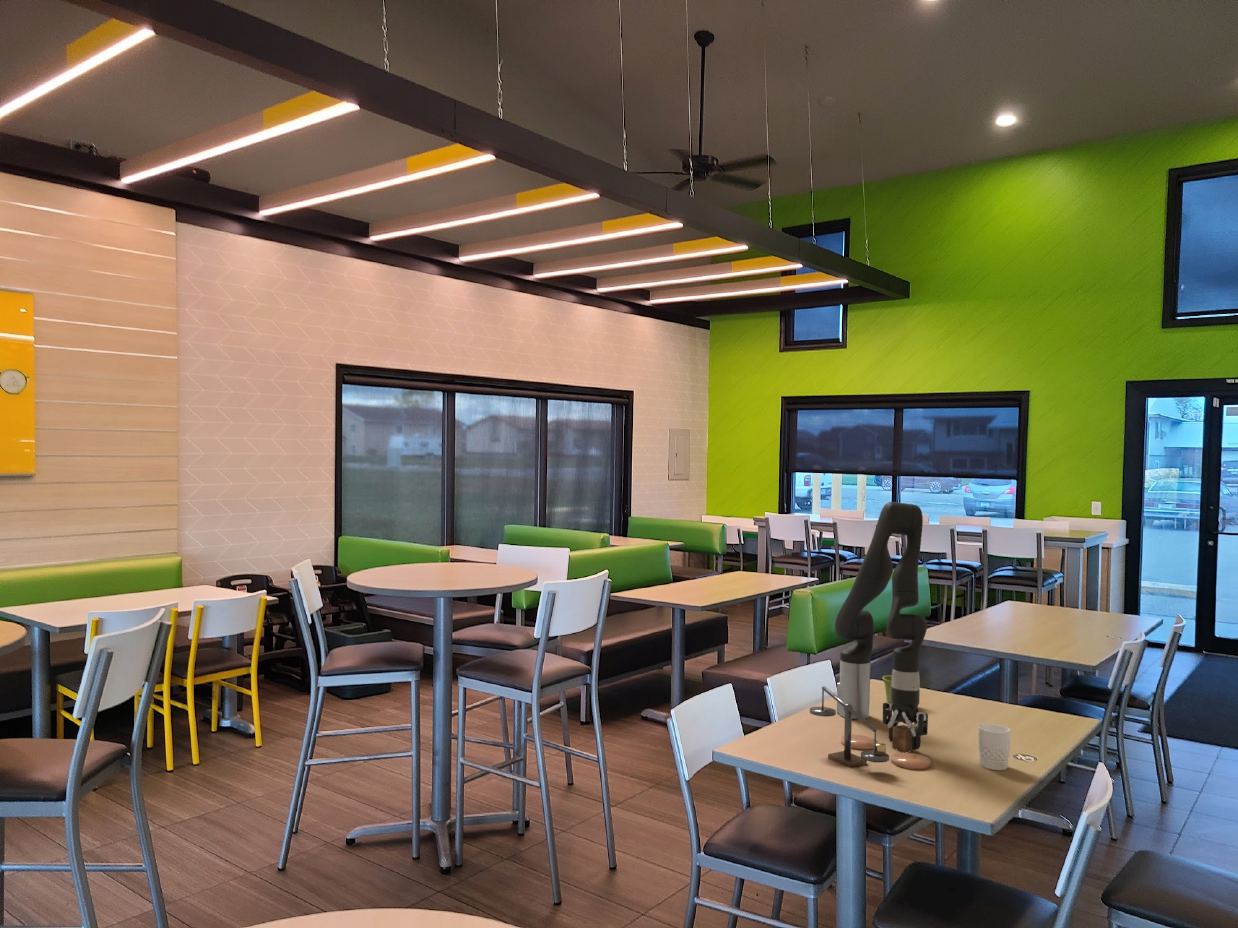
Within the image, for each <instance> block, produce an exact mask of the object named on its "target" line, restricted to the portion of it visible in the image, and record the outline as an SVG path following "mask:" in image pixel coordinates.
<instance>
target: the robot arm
mask: <svg viewBox="0 0 1238 928" xmlns="http://www.w3.org/2000/svg"><path fill="white" fill-rule="evenodd" d="M923 520H924V519H923V512H922V509H921V508H920V506H918V505H917V504H913V503H912V504H911V503H905V502H897V501H888V502H886V503H885V504H884V506H883V507H882V508H881V510H880V513H879V517H878V520H877V522H876V523H877V524H876V526H875V528H874V532H873V535H872V539H871V542H870V545H869V546H868V549H867V551H866V554H865V556H864V557H863V561H861V562H862V563H861V565H860V567H859V569H858V571H857V574H856V577H855V579H854V582H853V584H852V586H851V589H850V590H849V593H848V595H847V597H846V598H845V600H844V602H843V604H842V606H841V608H840V609H839V611H838V612H837V615H836V618H835V621H834V622H835V623H834V630H835V633H836V636H837V637H838V638H840V639H842V640H848V641H853V642H852V643H851V645H849V646H848V647H846V648H844V649H842V650H841V651H840V654H839V657H840V658H839V682H837V685H836V687H837V689H836V696H837V697H838V698H839V699H841V700H842V701H843V702H844V703H846V704H851V705H852V706H853V710H854V711H855V712H856V713H858V714H859V715H860V716H861V717H863V718H864V719H865V720H866V719H869V718H870V702H871V701H870V699H871V698H870V697H871V696H870V695H871V658H872V654H873V649H874V648H873V646H874V635H875V634H874V633H875V624H874V618H873V615H872V614H871V612H869V611H868V610H867V609H865V608H866V606H867V605H869V604H870V603H871V602H872V601H875V599H876V598H878V597H879V596H880V595H881V594H882V593H883V592H884V591H885V589H886V588H887V587H888V585H889V582H890V580H891V586H892V587H891V589H892V590H891V591H892V593H891V594H892V595H891V596H892V597H891V599H892V602H891V607H890V612H889V615H888V619H887V622H886V632H887V635H888V636H889V637H890V638H891V639H893V640H894V639H895V640H904V641H905V640H907V641H911V642H910V643H909V644H908V645H906V646H901V647H896V648H894V649H893V651H892V672H891V675H892V677H891V701H892V702H893V703H891V702H887V701H886V702H884V703H882V723H883V725H886V726H887V728H888V739H889V742H891V743H892V733H893V727H894V726H899V723H902V724H903V725H906V726H908V728H909V729H910V730H911V732H912V734H913V736H912V749H913V750H916V751H917V750H918V751H919V750H920V748H921V737H922V736H927V735H928V732H929V731H928V726H929V722H928V721H929V714H928V713H927V712H920V711H919V705H920V696H921V695H920V693H921V692H920V691H921V690H920V688H921V687H920V686H921V682H920V680H921V678H920V656H921V649H922V646H923V642H924V639H925V636H926V634H927V629H928V625H927V621H926V619H925V618H924V617H923V615H920V614H908V613H901V610H903V609H904V608H912V607H914V606H915V607H916V606H917V605H918V604H919V599H920V598H919V596H920V595H919V577H918V576H919V574H918V573H919V571H918V570H919V562H920V561H919V560H920V553H921V545H922V536H923V527H924V526H923V522H924V521H923ZM891 535H901V536H906V545H905V549H904V552H903V554H902V556H901V558H900V559H899V561H898V562H897V564H896V565H895V567H894V565H893V561H892V558H891V557H892V556H891V554H890V551H889V548H888V544H889V540H890V538H891ZM836 714H839V716H841V717H843V718H845V711H844V707H843V706H842V705H841V704H840V703H838V702H837V701H836ZM853 719H854V720H859V719H858V718H857V717H855V716H854V715H853V714H852V720H853ZM913 723H914V724H913ZM915 729H916V730H915ZM916 731H917V732H916Z"/></svg>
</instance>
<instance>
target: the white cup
mask: <svg viewBox="0 0 1238 928" xmlns="http://www.w3.org/2000/svg"><path fill="white" fill-rule="evenodd" d="M977 729H978V730H977V731H978V754H979V764H980V766H981V767H982V768H983V769H987V770H992V771H1005V770H1007V769H1008V767H1009V758H1010V749H1011V748H1010V747H1011V735H1012V733H1011V732H1012V730H1011V729H1010V728H1009V727H1007V726H1003V725H999V724H992V723H983V724H980V725H978V726H977Z"/></svg>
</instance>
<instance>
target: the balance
mask: <svg viewBox="0 0 1238 928" xmlns="http://www.w3.org/2000/svg"><path fill="white" fill-rule="evenodd" d="M824 692H825V693H826V694H827V695H829V696H830V697H831V698H833V699H834V700H835V701H836V703H837V702H838V703H840V704H841V705H842V706H843V707H844V711H845V717H844V733H843V734H844V735H843V736H844V745H843V750H841V751H837V752H832V753H827V756H828V758H827V759H828V760H831V761H833V762H835V763H838V762H839V764H840V765H843V766H846V767H847V768H850V767H851V768H854V767H860V766H864V765H863V764H865V765H867V764H868V762H871V763H886V762H887V763H888V762H890V755H889V754H888V753H887V744H886V743H883V742H878V743H876V740H877V731H878V729H877V728H876V727H874V726H873V725H872V724H871V723H870V721H868V720H866V719H864V718H863V717H861V716H860V715H859V714H858V713H856V712H855V711H854V710H853V706H852V705H851V704H846V703H844V702H843V701H842V700H841V699H839V698H838V697H837V694H835V693H833V692H832V691H831V690H829V688H827V687H826V686H825V685H823V686H822V687H821V706H813V707H810V708H809V713H810V714H811V715H813V716H818V717H826V718H827V717H834V716H835V715H837V709H834V708H831V707H828V706H824V702H825V701H824V700H825V699H824V698H825V693H824ZM852 714H853V715H854V716H855V717H857V718H858V719H857V720H859V721H860V722H861V723H862V724H864V726H866V727H867V728H868V729H870V730H871V731H872V732H874V737H873V738H874V749H872V750H862V751H861V753H860V756H859V755H857V754H854V753H852V748H851V735H852V727H853V726H852V725H853V724H852V723H853V722H852V720H853V719H852Z"/></svg>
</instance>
